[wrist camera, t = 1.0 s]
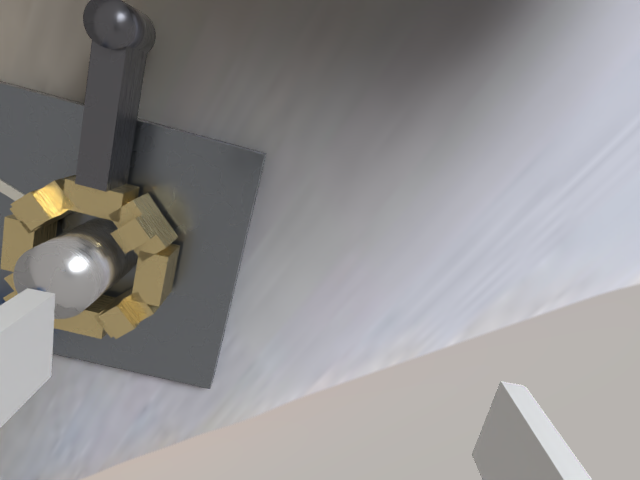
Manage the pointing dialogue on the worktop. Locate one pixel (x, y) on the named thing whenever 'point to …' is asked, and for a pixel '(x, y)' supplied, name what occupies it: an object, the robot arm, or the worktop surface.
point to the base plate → (184, 201)
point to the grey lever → (105, 178)
